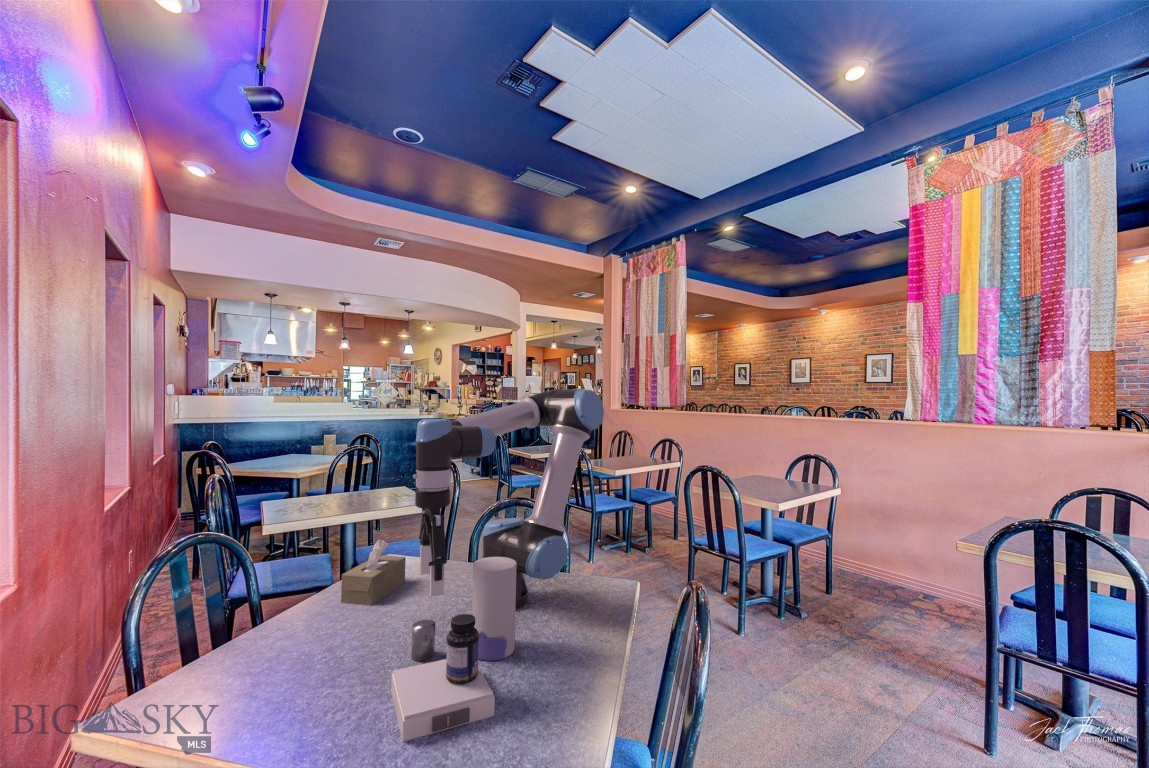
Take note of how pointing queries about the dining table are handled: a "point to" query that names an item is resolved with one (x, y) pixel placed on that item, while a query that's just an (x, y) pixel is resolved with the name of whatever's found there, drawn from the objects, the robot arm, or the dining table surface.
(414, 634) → the cylinder
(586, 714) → the dining table surface
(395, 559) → the tissue box
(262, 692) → the dining table surface
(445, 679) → the scale
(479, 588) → the container
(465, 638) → the pill bottle
